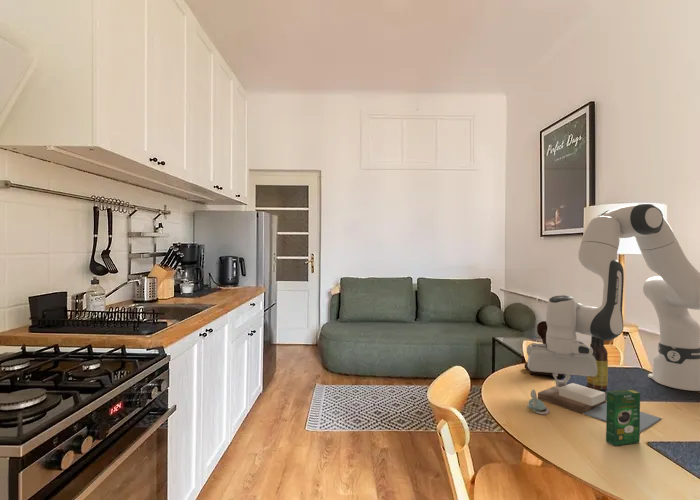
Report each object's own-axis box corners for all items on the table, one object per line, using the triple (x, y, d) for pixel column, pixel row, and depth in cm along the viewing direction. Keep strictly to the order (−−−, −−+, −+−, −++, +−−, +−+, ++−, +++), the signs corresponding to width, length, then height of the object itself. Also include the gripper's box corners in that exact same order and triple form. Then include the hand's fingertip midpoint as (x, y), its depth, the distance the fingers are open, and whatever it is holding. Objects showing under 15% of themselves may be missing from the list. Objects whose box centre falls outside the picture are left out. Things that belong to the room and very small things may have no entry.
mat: (607, 402, 122) (607, 401, 122) (661, 419, 111) (661, 417, 111) (583, 414, 114) (583, 413, 114) (639, 433, 102) (639, 431, 102)
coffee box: (630, 437, 100) (630, 387, 100) (641, 443, 97) (641, 391, 97) (605, 441, 98) (605, 390, 98) (615, 447, 95) (615, 394, 95)
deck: (562, 389, 134) (562, 383, 134) (606, 402, 123) (606, 396, 122) (537, 398, 126) (537, 392, 126) (582, 413, 114) (582, 407, 114)
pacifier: (550, 409, 118) (529, 404, 122) (551, 389, 118) (529, 384, 121) (548, 418, 112) (525, 412, 115) (549, 397, 112) (526, 392, 115)
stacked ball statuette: (567, 381, 142) (567, 327, 142) (524, 376, 148) (524, 324, 148) (564, 370, 155) (564, 320, 155) (524, 365, 162) (524, 318, 161)
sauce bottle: (585, 383, 140) (585, 329, 140) (606, 385, 137) (606, 330, 137) (588, 389, 134) (587, 332, 134) (609, 392, 131) (609, 334, 131)
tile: (572, 390, 128) (572, 382, 128) (605, 400, 119) (605, 392, 119) (559, 395, 124) (559, 387, 124) (591, 406, 115) (591, 397, 115)
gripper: (527, 344, 127) (527, 386, 128) (598, 349, 121) (598, 393, 121) (525, 340, 133) (525, 380, 134) (593, 344, 127) (593, 386, 127)
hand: (561, 386), depth 127 cm, fingers closed
